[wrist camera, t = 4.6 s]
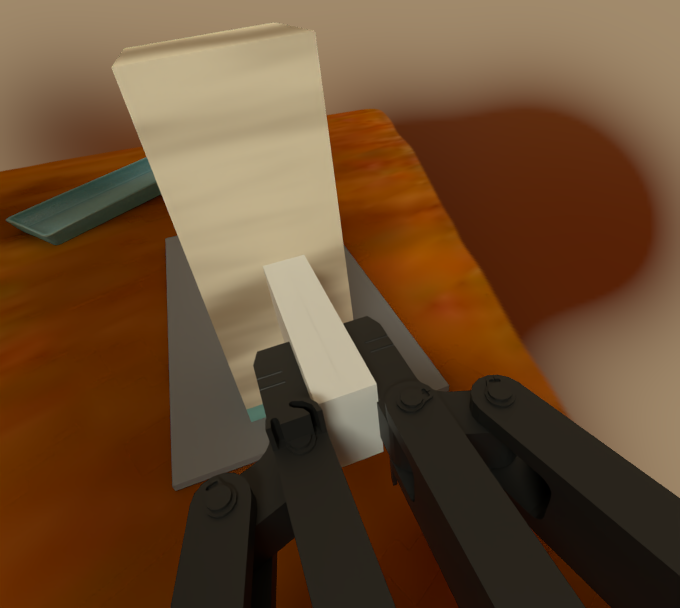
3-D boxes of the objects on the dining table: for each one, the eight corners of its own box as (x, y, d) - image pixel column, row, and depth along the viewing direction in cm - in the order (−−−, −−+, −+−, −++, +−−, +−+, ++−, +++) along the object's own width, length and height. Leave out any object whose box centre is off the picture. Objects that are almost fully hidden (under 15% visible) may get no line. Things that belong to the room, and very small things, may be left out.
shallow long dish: (56, 254, 42) (42, 231, 40) (14, 236, 46) (0, 215, 45) (244, 159, 58) (240, 140, 56) (200, 152, 62) (194, 135, 61)
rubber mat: (448, 390, 22) (449, 385, 22) (175, 491, 20) (172, 486, 19) (311, 204, 42) (311, 201, 42) (167, 242, 40) (165, 238, 40)
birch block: (361, 383, 23) (315, 30, 13) (251, 422, 22) (111, 67, 12) (327, 318, 28) (274, 22, 18) (235, 347, 26) (124, 48, 17)
